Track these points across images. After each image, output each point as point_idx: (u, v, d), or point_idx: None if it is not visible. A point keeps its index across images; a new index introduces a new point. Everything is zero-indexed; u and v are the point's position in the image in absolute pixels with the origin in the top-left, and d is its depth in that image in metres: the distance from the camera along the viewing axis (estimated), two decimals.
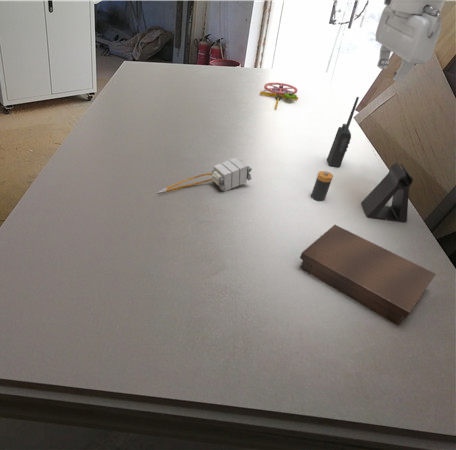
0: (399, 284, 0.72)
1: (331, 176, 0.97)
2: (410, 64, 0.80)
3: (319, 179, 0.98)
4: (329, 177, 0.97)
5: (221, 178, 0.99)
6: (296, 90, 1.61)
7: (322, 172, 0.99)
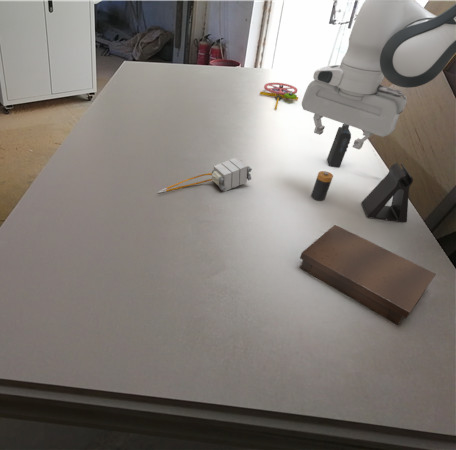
0: (399, 284, 0.72)
1: (331, 176, 0.97)
2: (371, 134, 0.87)
3: (319, 179, 0.98)
4: (329, 177, 0.97)
5: (221, 178, 0.99)
6: (296, 90, 1.61)
7: (322, 172, 0.99)
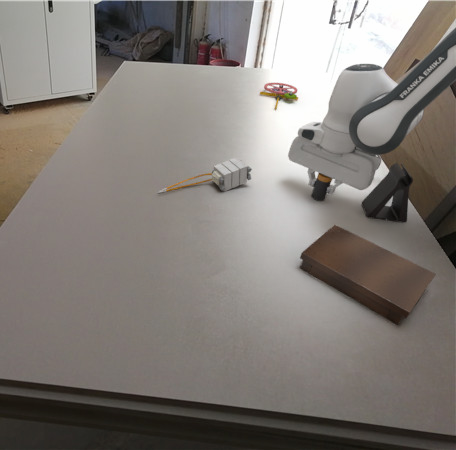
0: (399, 284, 0.72)
1: None
2: (342, 182, 0.96)
3: (319, 179, 0.98)
4: (329, 177, 0.97)
5: (221, 178, 0.99)
6: (296, 90, 1.61)
7: None
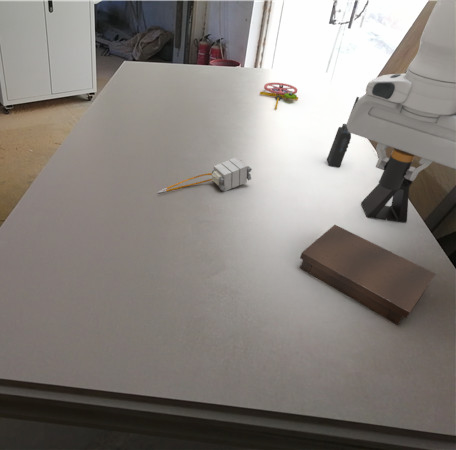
0: (399, 284, 0.72)
1: None
2: (431, 162, 0.65)
3: (395, 158, 0.67)
4: (411, 155, 0.66)
5: (221, 178, 0.99)
6: (296, 90, 1.61)
7: None
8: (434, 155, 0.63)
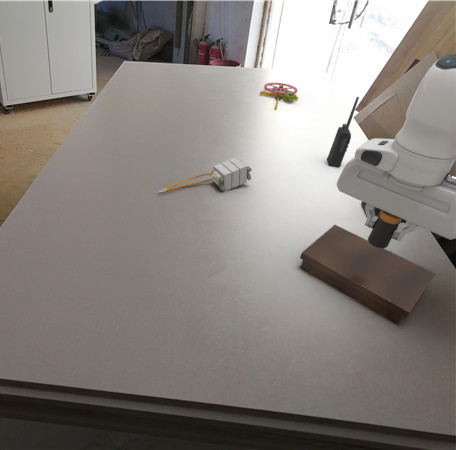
0: (399, 284, 0.72)
1: None
2: None
3: (383, 220, 0.69)
4: (398, 217, 0.68)
5: (221, 178, 0.99)
6: (296, 90, 1.61)
7: None
8: (420, 221, 0.65)
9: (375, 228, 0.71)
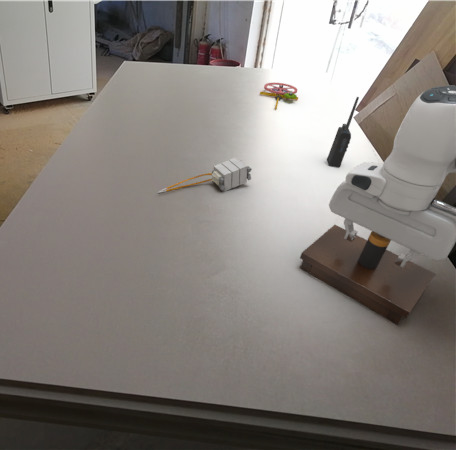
0: (399, 284, 0.72)
1: (389, 239, 0.72)
2: None
3: (371, 242, 0.72)
4: (386, 240, 0.71)
5: (221, 178, 0.99)
6: (296, 90, 1.61)
7: None
8: (408, 243, 0.68)
9: (365, 250, 0.74)
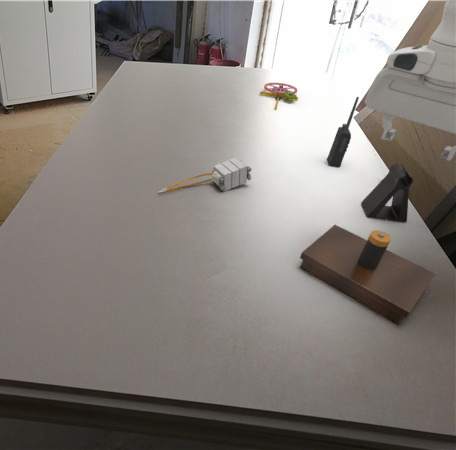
0: (399, 284, 0.72)
1: (389, 239, 0.72)
2: None
3: (371, 242, 0.72)
4: (386, 240, 0.71)
5: (221, 178, 0.99)
6: (296, 90, 1.61)
7: (376, 232, 0.73)
8: None
9: (365, 250, 0.74)
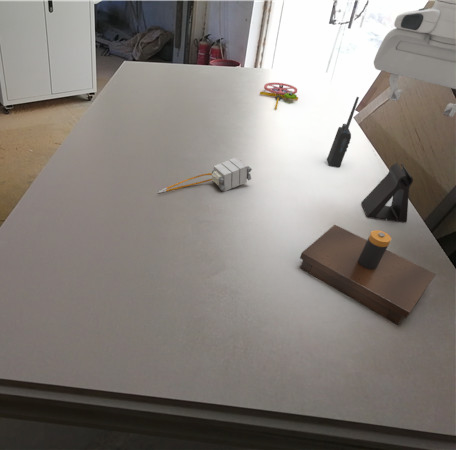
0: (399, 284, 0.72)
1: (389, 239, 0.72)
2: None
3: (371, 242, 0.72)
4: (386, 240, 0.71)
5: (221, 178, 0.99)
6: (296, 90, 1.61)
7: (376, 232, 0.73)
8: None
9: (365, 250, 0.74)
